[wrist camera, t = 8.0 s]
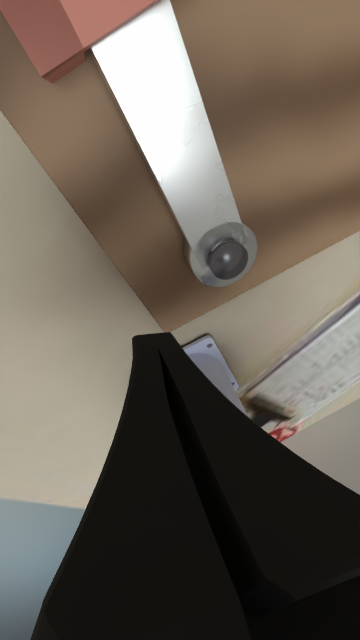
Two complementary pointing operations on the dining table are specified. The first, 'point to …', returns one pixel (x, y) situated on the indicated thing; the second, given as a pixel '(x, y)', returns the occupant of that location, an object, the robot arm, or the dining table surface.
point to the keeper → (66, 28)
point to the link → (176, 141)
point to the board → (230, 136)
